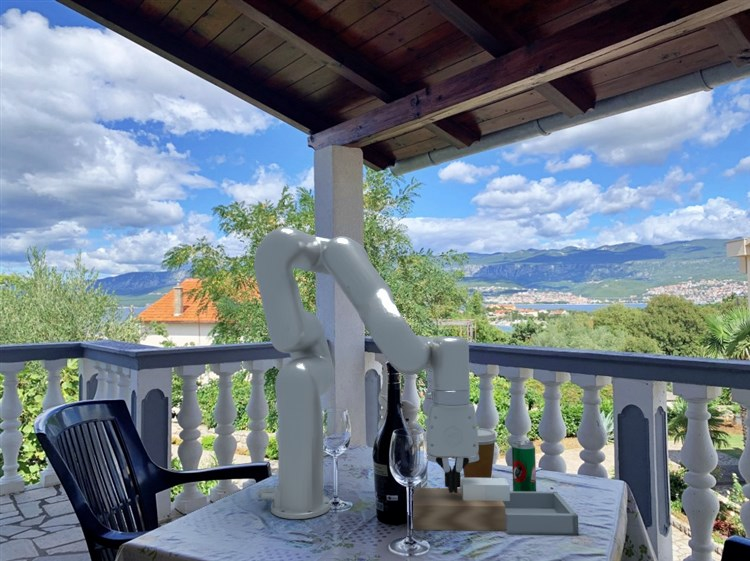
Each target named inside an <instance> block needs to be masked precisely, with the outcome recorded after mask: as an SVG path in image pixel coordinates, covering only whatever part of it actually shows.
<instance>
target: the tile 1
mask: <svg viewBox="0 0 750 561" xmlns="http://www.w3.org/2000/svg"><path fill="white" fill-rule="evenodd" d="M459 488H460V493H461V496H462V498H463V501H486V484H485V482H484V480H483V478H464V477H460V487H459Z"/></svg>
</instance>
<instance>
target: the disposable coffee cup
mask: <svg viewBox="0 0 750 561" xmlns="http://www.w3.org/2000/svg"><path fill="white" fill-rule="evenodd" d="M477 429H478V445H479V450H478V455H479V460H478V461H475V462H471V463H468V464H467V465H466V466H465V467H464V468H463V469H462V472H463V478H492V474H493V465H494V464H493V463H494V454H495V453H494V452H495V443H496V442H497V436H496V432H495V431H494V430H492V429H488V428H481V427H477Z"/></svg>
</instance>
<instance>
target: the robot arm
mask: <svg viewBox="0 0 750 561" xmlns="http://www.w3.org/2000/svg"><path fill="white" fill-rule="evenodd" d="M253 266H254V267H253V268H254V276H255V279H256V284H257V288H258V291H259V295H260V299H261V303H262V304H261V306H262V309H263V310H262V311H263V314H264V318H265V323H266V325H267V327H266V328H267V331H268V336H269V339H270V342H271V345H272V346H273V347H274V349H275V350H277V351H278V352H280V353H283V354H289V355H290V358H291V359H290V360H289V361H287V362H286V363H284V364H283V366H282V367H281V368H280V369H279V370H278V372H277V375H276V378H275V382H274V389H275V398H276V403H277V404H276V405H277V414H278V416H277V418H278V422H277V424H278V432H277V433H278V454H277V456H278V457H277V458H278V464H277V467H278V468H277V471H278V475H277V477H278V478H277V479H278V480H277V482H278V483H277V484H278V485H275V486H274V487H268V486H267V487H262V486H261V487H259V488H258V497H259V498H260V499H261V500H263V501H267V500H272V502H271V504H270V511H271V513H272V514H273V515H274V516H276V517H278V518H282V519H287V520H304V519H310V518H315V517H320V516H321V515H322V516H323V514H326V513H327V512H328V511H329V510H330V509H331V506H332V504H331V503H332V501H331V499H330V498H329V497H327V496H326V495H325V494H324V415H323V413H324V412H323V407H322V406H323V405H322V400H321V399H322V398H321V396H323V395H324V394H326V393H327V392H329V391H330V389H331V388H332V386H333V384H334V381H335V380H334V379H335V368H334V363H333V360H332V356H331V352H330V347H329V343H328V340H327V336H326V332H325V329H324V325H323V324H322V322H321V320H320V319H319V317H318V316H317V315H315V314H314V313H312V312H310V311H309V310H305V308H304V305H303V301H302V297H301V292H300V288H299V285H298V283H297V280H296V278H295V276H294V273H293V269H297V270H301V271H307V272H312V273H317V274H324V275H328V276H331V277H332V279H333V280H334V281H335V283H336V284H337V285H338V287H339V288H340V289H341V291H342V292H343V293H344V295H345V296H346V298H347V299H348V301H349V302H350V303H351V305H352V306H353V308H354V309H355V311H356V312H357V314H358V316H359V319H360V320H361V322H362V323H363V325H364V327H365V329H366V330H367V333H368V334H369V335H370V337H371V339H372V340H373V342H374V344H375V345H376V347H377V348H378V350H380V352H381V353H382V355H383V357H385V359H386V360H387V362H388V363H389V364H390V365H391V367H393V369H395V370H396V371H397V372H398V373H401V374H402V375H406V376H412V375H416V374H419V373H421V372H422V371H425V370H431V384H432V385H431V387H432V388H431V390H429V391H425V393H424V396H425V398H424V399H426V400H430V401H431V402H432V403H430V404H429V406H428V409H427V410H428V411H427V420H426V433H425V434H426V437H425V438H426V439H427V443H426V451H427V455H428V456H427V459H428V462H432V463H437V465H438V466H440V468H442V470H443V471H444V488H448V490H449V493H452V492H453V491H454V492H455V493H457V488H460V478H461V473H462V472H463V468H464V467H465V466H466V465H467V464H468V463H471V462H475V461H478V460H479V455H478V450H479V445H478V429H477V428H478V422H477V421H478V420H477V414H476V408H475V405H474V404H472V403H471V398H470V396H471V392H470V390H471V389H470V384H471V383H470V347H469V342H468V340H467V338H465V337H463V336H437V337H433V336H432V337H431V336H426V335H425V336H424V335H417V334H416V333H415V332H414V331H413V329H412V328H411V327H410V325H409V324H408V322H406V320H405V318H404V317H403V315H402V314H401V312H400V310H399V309H398V308H397V305H396V304H395V300H394V297H393V292H392V290H391V288H390V286H389V285H388V283H387V282H386V281H385V280H384V278H383V276H381V275H380V273H379V272H378V270H377V269H376V268H375V266H374V265H373V264H372V263H371V261H370V260H369V256H368V253H367V250H366V249H365V247H364V246H363V245H362V244H360V243H359V242H357V241H356V240H355V239H352V238H350V237H348V236H342V235H341V236H336V237H333V238H326V237H323V236H322V237H320V236H315V235H311V234H308V233H306V232H305V231H302V230H300V229H298V228H296V227H295V228H294V227H291V226H282V227H277V228H275V229H273V230H271V231H269V233H267V234H266V235H265V236H264V237H263V239H262V240H261V241H260V243H259V245H258V246H257V249H256V252H255V254H254V262H253ZM449 458H454V465H453V467H451V465H450V461H449Z"/></svg>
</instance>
